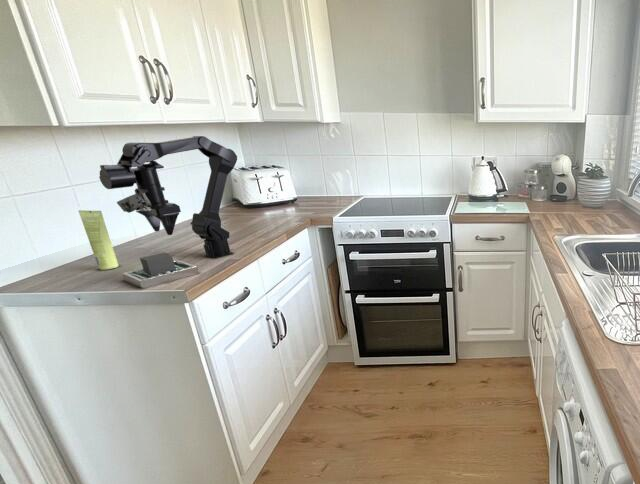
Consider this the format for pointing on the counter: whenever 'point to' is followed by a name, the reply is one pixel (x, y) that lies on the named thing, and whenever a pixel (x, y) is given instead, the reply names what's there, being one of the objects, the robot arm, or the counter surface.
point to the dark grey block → (157, 263)
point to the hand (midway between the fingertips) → (163, 233)
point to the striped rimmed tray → (159, 275)
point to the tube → (99, 239)
